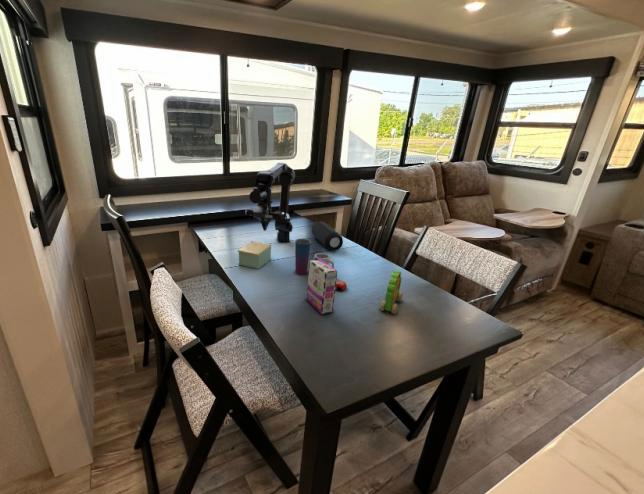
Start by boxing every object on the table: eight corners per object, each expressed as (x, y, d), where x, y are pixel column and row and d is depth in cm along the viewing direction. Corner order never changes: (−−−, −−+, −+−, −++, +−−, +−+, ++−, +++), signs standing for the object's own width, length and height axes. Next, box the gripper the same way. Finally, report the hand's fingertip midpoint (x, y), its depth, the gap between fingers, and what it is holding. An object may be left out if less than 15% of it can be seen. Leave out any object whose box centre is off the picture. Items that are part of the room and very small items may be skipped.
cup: (310, 271, 141) (313, 240, 136) (305, 277, 136) (307, 245, 130) (296, 268, 144) (298, 237, 138) (291, 273, 138) (292, 242, 132)
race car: (347, 287, 128) (349, 278, 126) (344, 292, 123) (345, 284, 122) (317, 279, 133) (318, 271, 132) (313, 285, 129) (313, 276, 127)
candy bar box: (333, 312, 110) (338, 270, 104) (321, 315, 108) (325, 272, 102) (317, 297, 120) (320, 258, 114) (306, 299, 118) (308, 260, 112)
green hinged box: (258, 268, 142) (258, 255, 140) (238, 264, 146) (238, 251, 144) (270, 259, 153) (271, 246, 150) (251, 255, 157) (251, 242, 154)
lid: (258, 255, 139) (258, 254, 139) (237, 251, 143) (237, 250, 143) (271, 246, 150) (271, 244, 150) (251, 242, 154) (251, 241, 154)
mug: (310, 269, 143) (311, 255, 141) (319, 264, 148) (320, 252, 145) (329, 276, 137) (330, 262, 134) (337, 271, 141) (338, 258, 139)
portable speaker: (343, 251, 164) (345, 233, 160) (326, 252, 162) (327, 234, 158) (325, 235, 187) (326, 219, 183) (309, 236, 185) (310, 220, 181)
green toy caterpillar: (387, 295, 122) (394, 260, 116) (402, 299, 119) (409, 263, 114) (377, 314, 109) (384, 276, 104) (393, 319, 107) (401, 280, 101)
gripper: (239, 200, 144) (240, 232, 150) (275, 205, 137) (275, 238, 143) (251, 195, 153) (251, 226, 159) (285, 200, 146) (284, 231, 152)
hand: (264, 230), depth 153 cm, fingers closed
